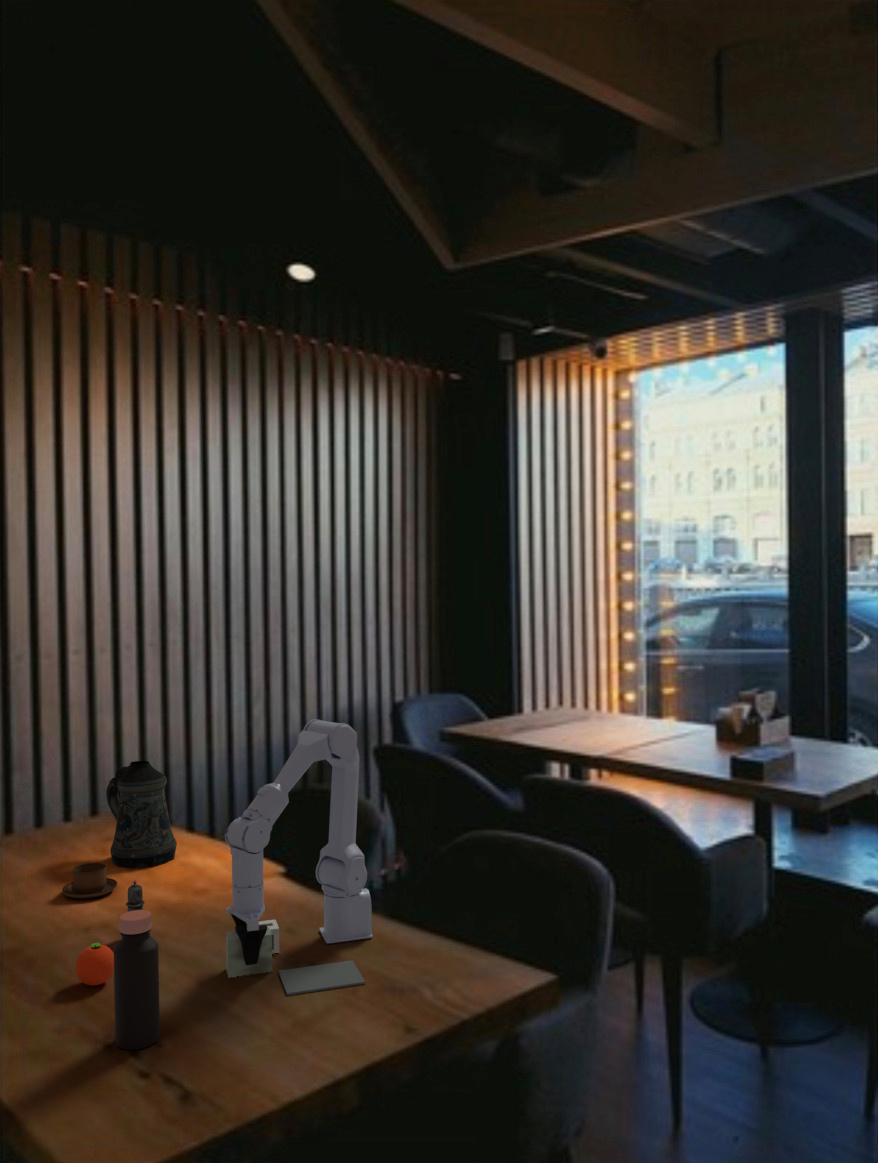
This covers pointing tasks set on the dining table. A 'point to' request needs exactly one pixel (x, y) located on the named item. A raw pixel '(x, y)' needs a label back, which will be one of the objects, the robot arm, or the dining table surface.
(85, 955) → the clementine
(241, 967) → the pale green block
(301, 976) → the slate mat
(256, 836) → the robot arm
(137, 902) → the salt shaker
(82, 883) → the cup and saucer
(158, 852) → the beer stein
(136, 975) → the bottle
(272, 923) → the marked cube
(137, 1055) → the dining table surface
